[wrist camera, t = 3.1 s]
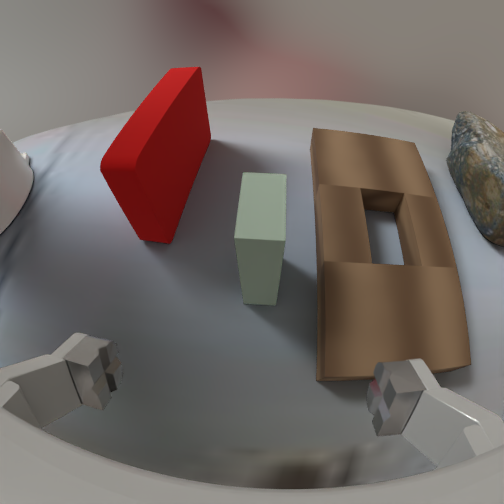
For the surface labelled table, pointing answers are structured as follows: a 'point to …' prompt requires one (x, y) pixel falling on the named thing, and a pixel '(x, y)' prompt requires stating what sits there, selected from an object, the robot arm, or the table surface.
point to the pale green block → (261, 236)
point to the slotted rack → (381, 275)
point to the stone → (479, 172)
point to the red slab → (160, 154)
